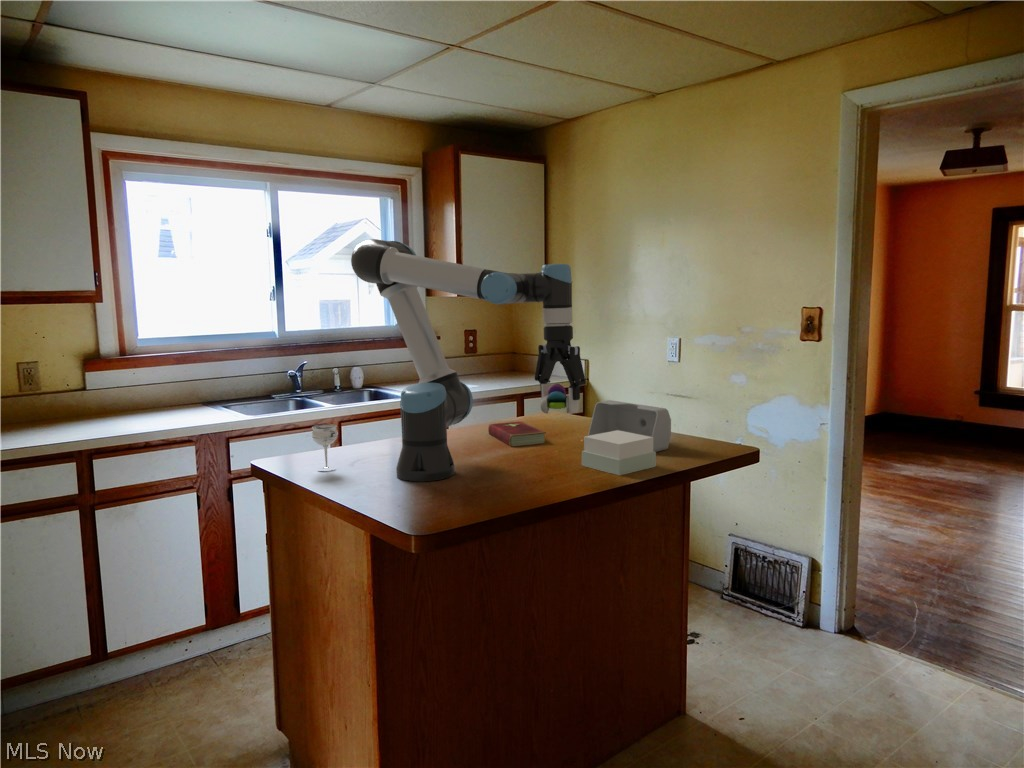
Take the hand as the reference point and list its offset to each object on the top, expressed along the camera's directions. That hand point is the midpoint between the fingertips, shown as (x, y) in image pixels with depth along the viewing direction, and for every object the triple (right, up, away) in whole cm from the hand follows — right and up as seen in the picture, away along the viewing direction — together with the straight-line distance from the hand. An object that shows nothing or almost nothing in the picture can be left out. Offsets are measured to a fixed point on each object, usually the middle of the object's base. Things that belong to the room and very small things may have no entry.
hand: (560, 410), depth 181 cm
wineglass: (-63, -17, +7) cm, 65 cm away
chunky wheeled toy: (-1, -1, -1) cm, 1 cm away
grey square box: (+16, -15, +6) cm, 23 cm away
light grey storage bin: (+25, -12, +33) cm, 43 cm away
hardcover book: (-11, -12, +44) cm, 47 cm away
